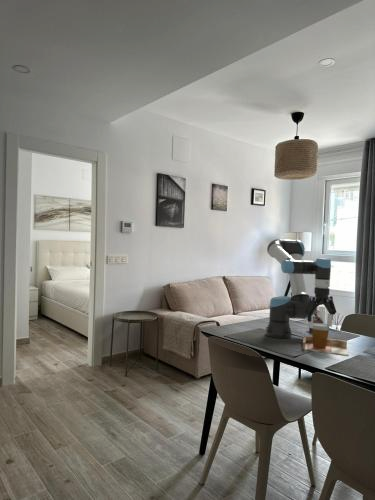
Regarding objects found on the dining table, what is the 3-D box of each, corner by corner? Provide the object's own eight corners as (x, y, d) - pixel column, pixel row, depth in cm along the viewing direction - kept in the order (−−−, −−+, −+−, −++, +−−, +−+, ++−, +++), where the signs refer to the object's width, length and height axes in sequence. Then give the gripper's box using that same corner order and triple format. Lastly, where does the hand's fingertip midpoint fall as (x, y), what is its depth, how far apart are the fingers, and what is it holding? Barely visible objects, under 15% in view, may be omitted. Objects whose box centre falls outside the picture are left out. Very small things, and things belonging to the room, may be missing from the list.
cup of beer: (328, 345, 192) (329, 323, 192) (329, 350, 183) (330, 327, 183) (309, 343, 195) (311, 321, 195) (309, 348, 186) (310, 325, 186)
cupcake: (327, 333, 226) (327, 317, 226) (315, 334, 222) (316, 318, 222) (316, 329, 235) (317, 314, 235) (304, 330, 231) (305, 315, 231)
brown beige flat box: (302, 349, 186) (302, 342, 186) (303, 342, 200) (304, 335, 200) (348, 355, 178) (348, 348, 178) (346, 348, 192) (346, 340, 192)
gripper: (309, 288, 180) (307, 329, 181) (344, 287, 191) (342, 327, 191) (298, 286, 187) (296, 326, 188) (333, 285, 197) (331, 323, 198)
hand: (320, 326), depth 189 cm, fingers open, 13 cm apart
